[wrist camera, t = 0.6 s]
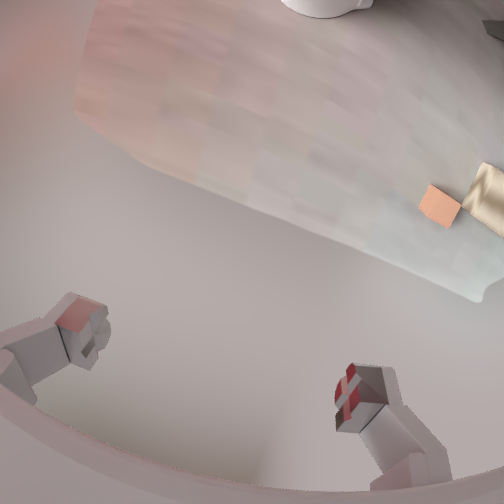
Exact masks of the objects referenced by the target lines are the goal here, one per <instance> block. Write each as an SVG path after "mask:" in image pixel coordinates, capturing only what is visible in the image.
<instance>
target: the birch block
mask: <svg viewBox="0 0 504 504" xmlns="http://www.w3.org/2000/svg"><path fill="white" fill-rule="evenodd" d="M461 207H463V208H464V209H465V210H466V211H468V212H469V213H470V214H471V215H473V216H474V217H475V218H477V219H478V220H479V221H481V222H482V223H484V224H485V225H486V226H488V227H489V228H490V229H492V230H493V231H494V232H496V233H497V234H498V235H499V236H501V237H502V238H503V239H504V173H502V172H501V171H500V170H499V169H497V168H495V167H493V166H491V165H489V164H486V163H484V162H482V164H481V166H480V168H479V170H478V172H477V175H476V177H475V179H474V181H473V183H472V185H471V187H470V189H469V191H468V193H467V195H466V197H465V199H464V201H463V203H462V205H461Z"/></svg>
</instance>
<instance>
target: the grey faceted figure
mask: <svg viewBox="0 0 504 504" xmlns="http://www.w3.org/2000/svg"><path fill="white" fill-rule="evenodd" d="M483 24H484V26H485V28H486V31H487V33H488V34H490V35H492V36H495V37H497V38H499V39H502V40H504V21H483Z"/></svg>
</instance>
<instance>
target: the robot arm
mask: <svg viewBox="0 0 504 504" xmlns="http://www.w3.org/2000/svg"><path fill="white" fill-rule="evenodd" d="M281 1H282V2H283V3H284V4H285V5H286V6H288V7H289V8H291V9H292V10H294V11H296V12H298V13H300V14H303V15H306V16H310V17H315V18H332V17H337V16H340V15H343V14H345V13H347V12H349V11H351V10H354V9H367V8H370V7H371V6H372V3H373V0H281ZM107 315H108V308H107V306H106V305H104V304H102V303H99V302H96V301H93V300H91V299H88V298H86V297H83V296H80V295H78V294H75V293H73V292H69V293H67V294H65V295H64V297H63V298H62V299H61V300H60V301H59V302H58V303H57V304H56V305H55V306H54V307H53V308H52V309H51V310H50V312H48V314H47V315H46V316H45V317H44V318H40V317H39V318H37V319H34V320H31V321H28V322H26V323H23V324H20V325H17V326H15V327H12V328H9V329H6V330H4V331H1V332H0V504H504V466H503V467H500V468H497V469H494V470H491V471H487V472H484V473H480V474H477V475H473V476H469V477H465V478H460V479H456V480H452V474H451V469H450V464H449V459H448V455H447V450H446V448H445V447H444V446H443V445H442V444H441V443H440V441H439V440H438V439H437V438H436V437H435V436H434V435H433V434H432V433H431V432H430V430H429V429H428V428H427V427H426V426H425V425H424V424H423V423H422V422H421V421H420V419H418V417H417V416H416V415H415V414H414V413H413V412H412V411H411V410H410V409H409V408H408V406H405V405H403V402H402V398H401V394H400V390H399V386H398V382H397V378H396V374H395V370H394V369H393V368H392V367H383V366H374V365H366V364H357V363H351V364H350V365H349V366H348V368H347V369H346V376H345V377H343V378H341V379H340V381H339V383H338V385H337V387H336V391H335V405H336V406H337V408H338V409H339V411H338V412H337V413H336V416H335V418H336V431H337V432H348V433H360V434H359V436H360V437H361V439H362V440H363V442H364V444H365V445H366V447H367V448H368V450H369V452H370V453H371V455H372V457H373V458H374V460H375V461H376V463H377V465H378V466H379V468H380V469H381V471H382V473H383V475H381V476H379V477H378V478H377V479H375V480H374V481H372V482H371V483H370V491H356V492H326V491H325V492H324V491H303V490H290V489H281V488H272V487H263V486H257V485H250V484H244V483H238V482H233V481H227V480H222V479H218V478H213V477H209V476H205V475H200V474H196V473H192V472H188V471H185V470H181V469H178V468H174V467H171V466H168V465H164V464H161V463H158V462H155V461H152V460H149V459H146V458H143V457H140V456H138V455H135V454H132V453H130V452H127V451H124V450H122V449H119V448H117V447H115V446H112V445H110V444H107V443H105V442H103V441H100V440H98V439H96V438H94V437H91V436H89V435H87V434H85V433H83V432H81V431H79V430H77V429H75V428H73V427H71V426H69V425H67V424H65V423H63V422H61V421H59V420H58V419H56V418H54V417H52V416H51V415H49V414H47V413H45V412H44V411H42V410H40V409H38V408H37V407H35V406H34V405H35V403H36V402H37V396H36V394H35V393H34V391H33V389H32V387H31V386H33V385H34V384H36V383H38V382H40V381H41V380H43V379H45V378H47V377H48V376H50V375H52V374H54V373H55V372H57V371H59V370H60V369H62V368H64V367H65V366H67V365H69V364H70V363H72V364H74V365H77V366H79V367H82V368H84V369H87V370H89V371H90V370H91V368H92V367H93V365H94V364H95V362H96V361H97V359H98V351H100V350H102V349H104V348H105V347H106V345H107V343H108V341H109V338H110V334H111V327H110V323H109V322H108V320H107V319H106V317H107Z"/></svg>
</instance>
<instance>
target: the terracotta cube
mask: <svg viewBox="0 0 504 504" xmlns="http://www.w3.org/2000/svg"><path fill="white" fill-rule="evenodd" d="M460 207H461V204H460V203H459V202H457V201H456V200H454V199H453V198H452V197H450V196H449V195H447V194H446V193H444V192H443V191H441V190H439V189H438V188H436V187H435V186H433V185H431V184H430V186H429V188H428V190H427V192H426V194H425V196H424V198H423V200H422V202H421V203H420V205H419V207H418V208H419V209H420V210H421V211H422V212H423V213H424V214H425V215H426V216H427V217H428V218H430V219H432V220H434V221H435V222H437V223H439V224H441V225H442V226H444V227H446V228H447V229H449V227H450V225H451V224H452V222H453V220H454V218H455V216H456V215H457V213H458V211H459V209H460Z"/></svg>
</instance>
